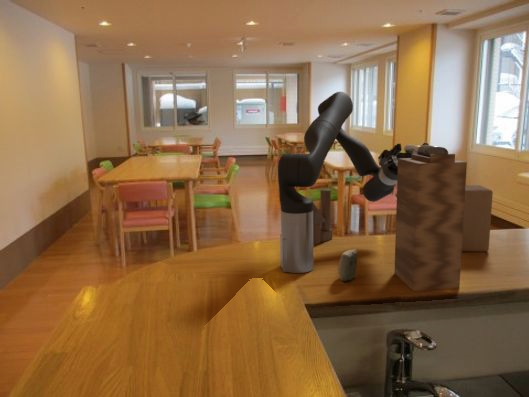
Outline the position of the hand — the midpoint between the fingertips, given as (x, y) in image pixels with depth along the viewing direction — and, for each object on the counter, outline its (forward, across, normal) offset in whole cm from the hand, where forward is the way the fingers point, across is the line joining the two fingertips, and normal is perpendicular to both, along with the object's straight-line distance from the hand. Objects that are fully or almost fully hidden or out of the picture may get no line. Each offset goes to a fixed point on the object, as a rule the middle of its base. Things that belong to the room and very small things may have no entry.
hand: (413, 145), depth 125 cm
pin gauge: (+4, 0, +6) cm, 7 cm away
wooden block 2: (-31, +26, +23) cm, 46 cm away
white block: (-11, -20, +34) cm, 41 cm away
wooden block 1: (-44, -20, +15) cm, 51 cm away
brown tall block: (-8, 0, +36) cm, 37 cm away
